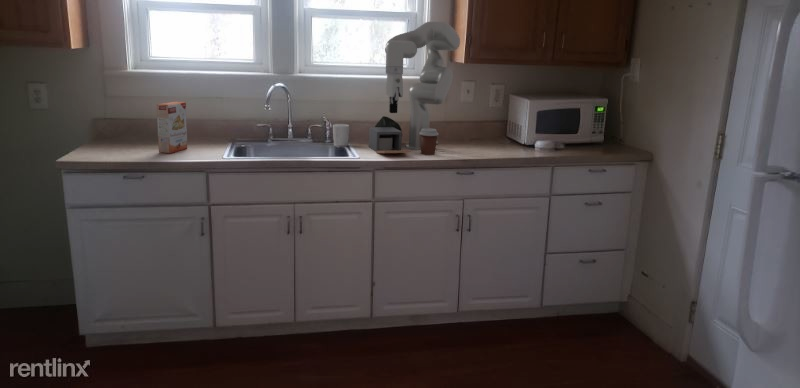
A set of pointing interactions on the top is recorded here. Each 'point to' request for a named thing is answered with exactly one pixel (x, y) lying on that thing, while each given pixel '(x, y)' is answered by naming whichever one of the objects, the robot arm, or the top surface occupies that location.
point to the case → (385, 138)
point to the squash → (388, 123)
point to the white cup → (340, 134)
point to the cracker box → (172, 127)
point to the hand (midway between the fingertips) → (393, 112)
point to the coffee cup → (428, 141)
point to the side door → (396, 151)
